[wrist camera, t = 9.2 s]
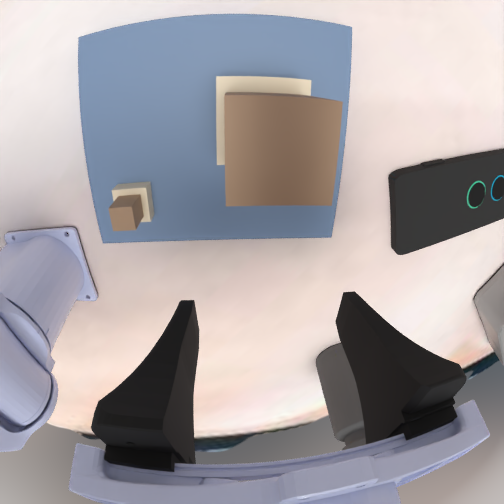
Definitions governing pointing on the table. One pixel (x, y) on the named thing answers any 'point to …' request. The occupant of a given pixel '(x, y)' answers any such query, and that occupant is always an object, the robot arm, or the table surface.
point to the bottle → (341, 396)
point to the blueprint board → (196, 120)
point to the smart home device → (445, 199)
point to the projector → (493, 311)
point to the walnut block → (280, 149)
